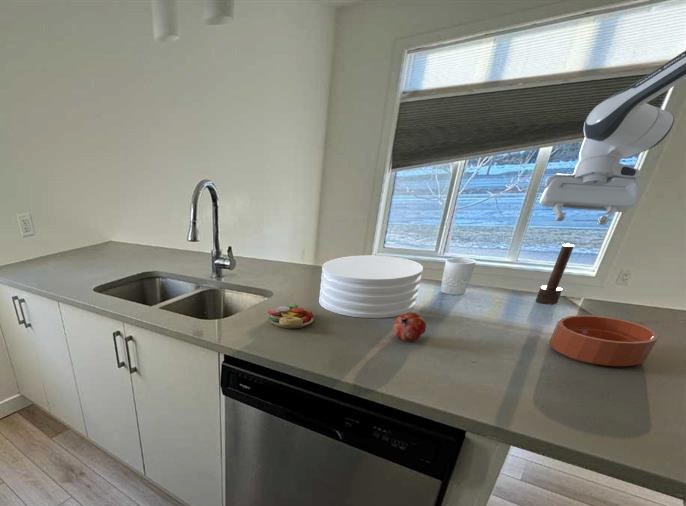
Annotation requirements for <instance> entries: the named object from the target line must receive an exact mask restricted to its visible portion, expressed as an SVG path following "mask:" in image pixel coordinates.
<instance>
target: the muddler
mask: <svg viewBox="0 0 686 506" xmlns="http://www.w3.org/2000/svg"><path fill="white" fill-rule="evenodd" d="M574 248H575V245H574V244H570V243H566V244H565V243H564V244H562V246H561V249H560V250H559V253H558V256H557V259H556V261H555V264H554V266H553V269H552V271H551V274H550V276H549V279H548V281H547V285H542V286H540V288H539V290H538V293H537V296H536V298H535V302H536V303H539V304H544V305H556V304H557V303H558V301H559V299H560V297H561V295H562V292H563V288H562V287H559V284H560V282H561V280H562V278H563V275H564V272H565V270H566V268H567V265H568V263H569V260H570V257H571V255H572V253H573V250H574Z"/></svg>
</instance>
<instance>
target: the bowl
mask: <svg viewBox="0 0 686 506" xmlns="http://www.w3.org/2000/svg"><path fill="white" fill-rule="evenodd" d="M659 338H660V337H659V334H658V332H656V331H654V330H653V329H652V328H650V327H648V326H645V325H642V324H640V323H636V322H633V321H629V320H626V319H621V318H615V317H609V316H601V315H587V314H583V315H582V314H577V315H567V316H565V317H561V318H560V319H559V320H557V323H556V325H555V327H554V329H553V332H552V334H551V336H550V339H549V346H550V347H551V348H552V349H553V350H554V351H556V352H558V353H560V354H562V355H563V356H565V357H567V358H570V359H572V360H576V361H579V362H581V363H582V362H583V363H586V364H590V365H597V366H605V367H629V366H630V367H631V366H637V365H641V364H643V363H645V361H646V360H647V359H648V357H649V355H650V354H651V351H652V350H653V348H654V346H655V344H656V343H657V341H658V339H659Z"/></svg>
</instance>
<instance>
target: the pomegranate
mask: <svg viewBox="0 0 686 506" xmlns="http://www.w3.org/2000/svg"><path fill="white" fill-rule="evenodd" d="M392 328H393V334H394V335H395V337H396V338H397V339H399V340H402V341H404V342H408V343H412V342H414V341H417V340H419V339H420V338H421V336H422V335H423V334H424V333H426V331H427V322H426V321H425V319H424V318H423V317H422V316H421V314H419V313H418V312H412V311H410V312H408V313H406V314H403V315H399V316H397V318H396V320H395V322H394V323H393V326H392Z"/></svg>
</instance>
